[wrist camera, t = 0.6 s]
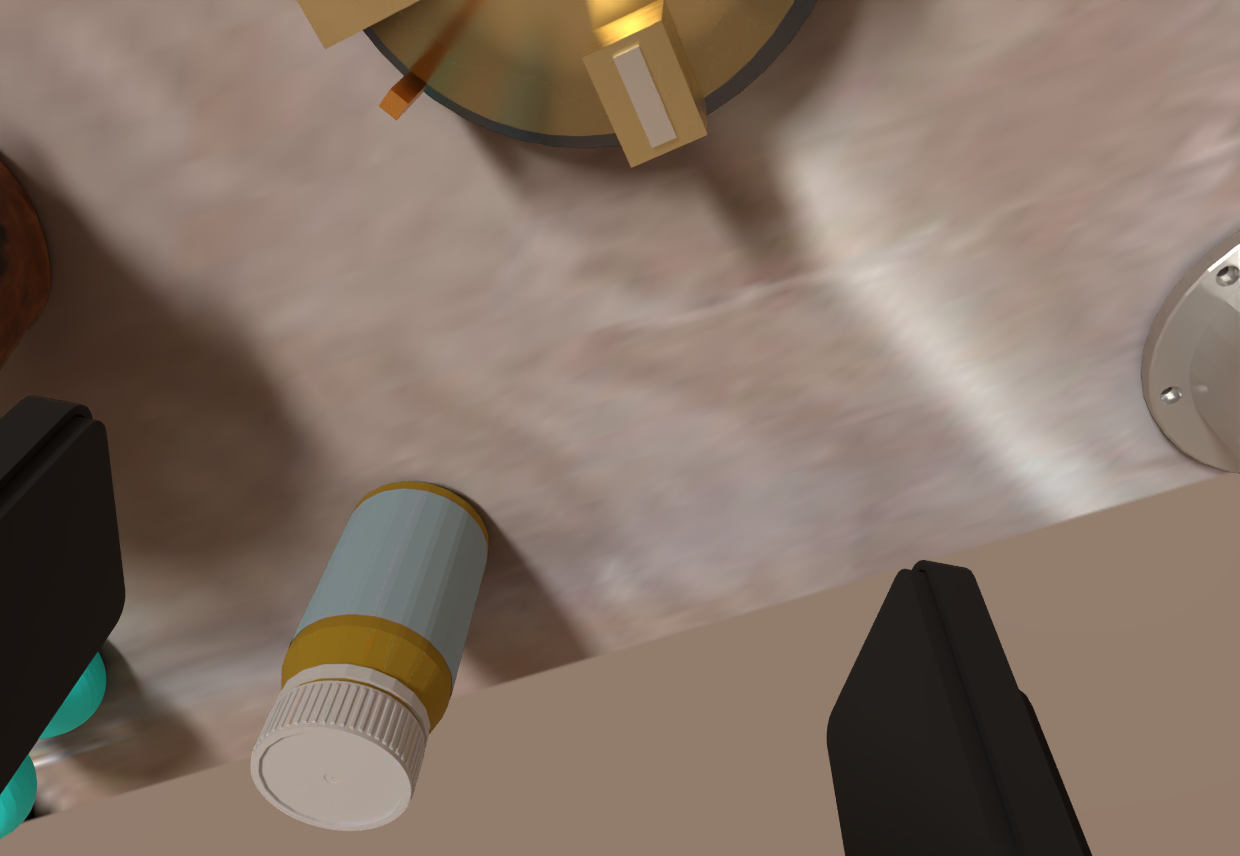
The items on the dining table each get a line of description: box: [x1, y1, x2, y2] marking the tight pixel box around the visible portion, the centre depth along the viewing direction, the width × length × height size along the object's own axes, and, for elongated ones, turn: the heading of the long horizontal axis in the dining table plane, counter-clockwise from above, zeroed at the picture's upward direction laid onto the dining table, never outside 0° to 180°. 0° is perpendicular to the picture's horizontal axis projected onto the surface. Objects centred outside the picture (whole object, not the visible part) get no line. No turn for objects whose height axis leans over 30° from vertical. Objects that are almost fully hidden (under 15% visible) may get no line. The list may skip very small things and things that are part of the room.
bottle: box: [251, 481, 489, 831], centre depth 42 cm, size 7×7×15 cm
